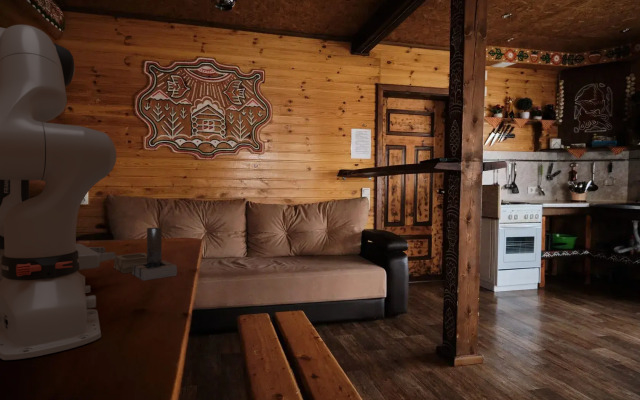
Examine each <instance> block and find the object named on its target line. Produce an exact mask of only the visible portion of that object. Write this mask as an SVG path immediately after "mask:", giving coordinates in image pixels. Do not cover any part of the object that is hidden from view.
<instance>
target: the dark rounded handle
mask: <svg viewBox="0 0 640 400" xmlns="http://www.w3.org/2000/svg"><path fill="white" fill-rule="evenodd" d="M162 229H163V228H162V227H147V228H146V254H147V268H151V267H158V266H162V261H163V260H162V259H163V257H162V254H163V253H162V252H163V251H162V250H163V249H162V246H163V244H162V243H163V240H162V237H163V236H162V234H163V232H162Z"/></svg>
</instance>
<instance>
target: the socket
mask: <svg viewBox="0 0 640 400" xmlns="http://www.w3.org/2000/svg"><path fill="white" fill-rule="evenodd" d="M131 275H133V276H135V277H136V278H137V279H140V280H141V281H142V282H143V281H148V280H157V279H163V278H170V277H176V276H178V265H176V264H173V263H171V262H169V261H167V260H164V259H163V260H162V266H158V267H151V268H147V263H139V264H132V272H131Z"/></svg>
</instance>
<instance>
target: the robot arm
mask: <svg viewBox="0 0 640 400" xmlns="http://www.w3.org/2000/svg"><path fill="white" fill-rule="evenodd" d="M72 54H73V53H71V51H70V50H69V49H67V48H66V47H64V46H62V45H59V44H58V43H55V42H54V43H53V41H52V38H50V37H49V35H48V34H46V32H44V31H43V30H42V29H39V28H38V27H35V26H32V25H28V24H14V25H12V26H9V27H7V28H5V27H0V359H1V360H3V361H13V360H14V361H15V360H22V359H29V358H34V357H40V356H44V355H45V356H46V355H49V354H54V353H58V352H62V351H67V350H71V349H73V348H78V347H80V346H84V345H86V344H90V343H92V342H95V341H97V340H99V339H101V337H102V332H101V325H100V319H99V313H98V310H97V309H93V308H96V307H97V296H96V295H95V294H93V295H88V296H87V295H86V294H87V293H91V291H92V290H91V285H86V276H85V275H83V274H82V273H80V271H79V270H89V269H90V270H91V269H96V268H99V267H100V266H101V263H103V262H106V261H109V260H114V259H115V258H116V252H114V251H109V252H108V251H107V252H106V248H105V247H104V246H99V247H97V246H96V247H95V246H93V247H92V246H86V245H84V244H82V243H78V242H77V241H76V239H77V225H78V224H77V223H78V215H79V210H80V207H81V206H82V205H81V204H82V203H83V200H84V199H85V196H86V195H87V194H88V193H89V191H90V190H91V189H92V188H93V187H94V186H95V185H96V184H97V183H98V182H100V181H101V180H103V179H105V178H106V177H107V176H108V175H110V173H111V172H112V171H113V169H114V167H115V166H116V162H117V150H116V145H115V144H114V142H113V140H112V139H111V137H110V136H109V135H108V134H107V133H106V132H103V131H100V130H96V129H93V128H89V127H84V126H81V125H72V124H63V123H62V124H61V123H53V122H50V121H52V120H55V119H56V118H57V117H58V116H59V115H61V114H62V113H63V112H64V111H65V109H66V107H67V103H68V96H67V92H66V87H67V86H69V85H70V84H71V83H72V80H73V78H74V76H75V73H76V72H75V71H76V66H75V61H74V56H73V55H72ZM30 181H40V182H45V183H44V188H43V190H42V191H41V192H40V193H39V194H38V195H36V196H33V197H30ZM76 242H77V243H76Z"/></svg>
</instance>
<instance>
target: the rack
mask: <svg viewBox="0 0 640 400" xmlns="http://www.w3.org/2000/svg"><path fill="white" fill-rule="evenodd" d="M139 263H147V253H145V252H137V253H128V254H118V255H116V258H115V259H113V269H114V270H116V271H118V272H120V273H122V274H128V273H130V274H131V273H132V264H139Z"/></svg>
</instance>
